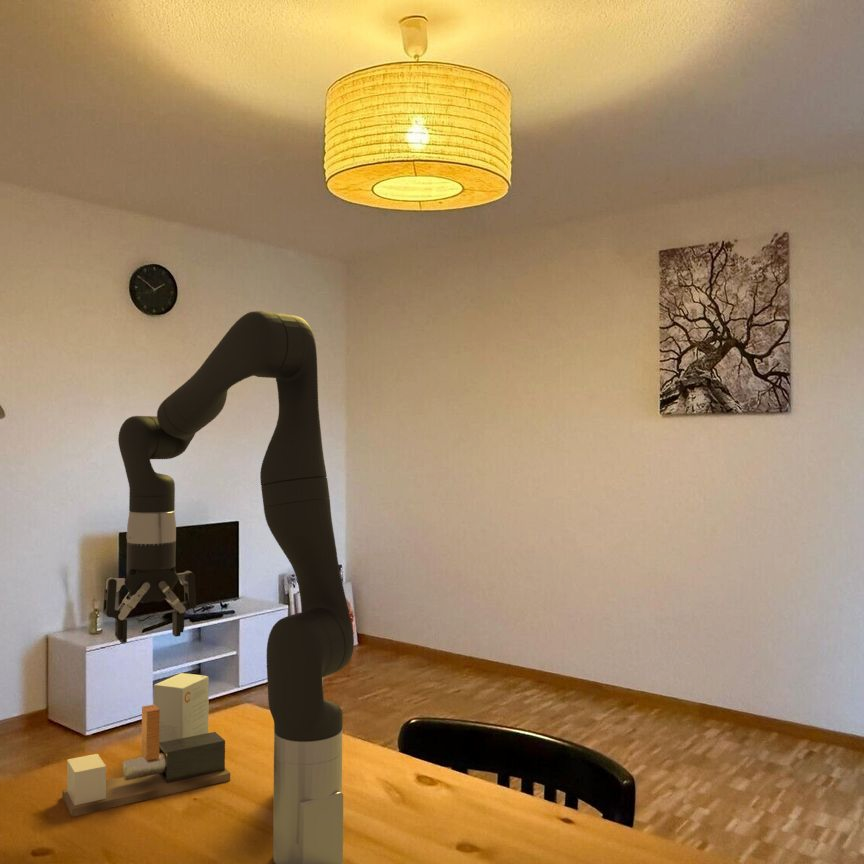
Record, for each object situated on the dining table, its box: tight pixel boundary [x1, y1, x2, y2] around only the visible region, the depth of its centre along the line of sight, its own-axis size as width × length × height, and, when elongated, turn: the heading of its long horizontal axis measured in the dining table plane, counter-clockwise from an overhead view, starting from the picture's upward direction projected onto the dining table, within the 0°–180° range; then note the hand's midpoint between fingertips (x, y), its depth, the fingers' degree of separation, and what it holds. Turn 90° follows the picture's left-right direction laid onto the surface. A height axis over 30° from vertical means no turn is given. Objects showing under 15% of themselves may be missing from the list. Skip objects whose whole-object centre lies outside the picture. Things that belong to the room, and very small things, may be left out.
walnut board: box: [61, 767, 231, 818], centre depth 134 cm, size 24×8×1 cm, turn 124°
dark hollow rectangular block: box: [159, 731, 226, 783], centre depth 138 cm, size 10×5×5 cm, turn 124°
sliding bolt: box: [121, 703, 166, 781], centre depth 136 cm, size 14×3×11 cm, turn 124°
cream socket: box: [66, 753, 107, 806], centre depth 129 cm, size 4×6×5 cm
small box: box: [153, 672, 210, 743], centre depth 150 cm, size 8×6×13 cm
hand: (150, 638), depth 134 cm, fingers open, 8 cm apart
